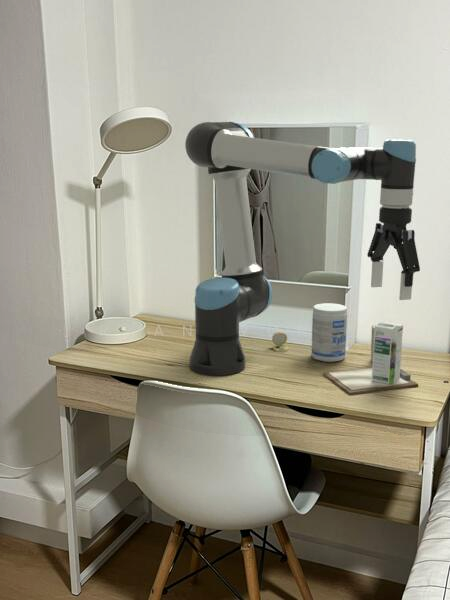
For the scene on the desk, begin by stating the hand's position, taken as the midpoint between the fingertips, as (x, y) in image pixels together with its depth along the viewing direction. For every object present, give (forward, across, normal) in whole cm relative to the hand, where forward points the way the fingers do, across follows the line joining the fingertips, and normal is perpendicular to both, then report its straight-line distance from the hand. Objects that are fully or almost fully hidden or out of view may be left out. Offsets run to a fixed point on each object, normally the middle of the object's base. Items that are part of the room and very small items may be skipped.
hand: (390, 293), depth 172 cm
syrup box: (+23, 0, 0) cm, 23 cm away
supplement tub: (+24, +23, +5) cm, 33 cm away
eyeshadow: (+24, +34, +15) cm, 44 cm away
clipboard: (+23, +3, +3) cm, 24 cm away
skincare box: (+24, +15, -7) cm, 29 cm away
